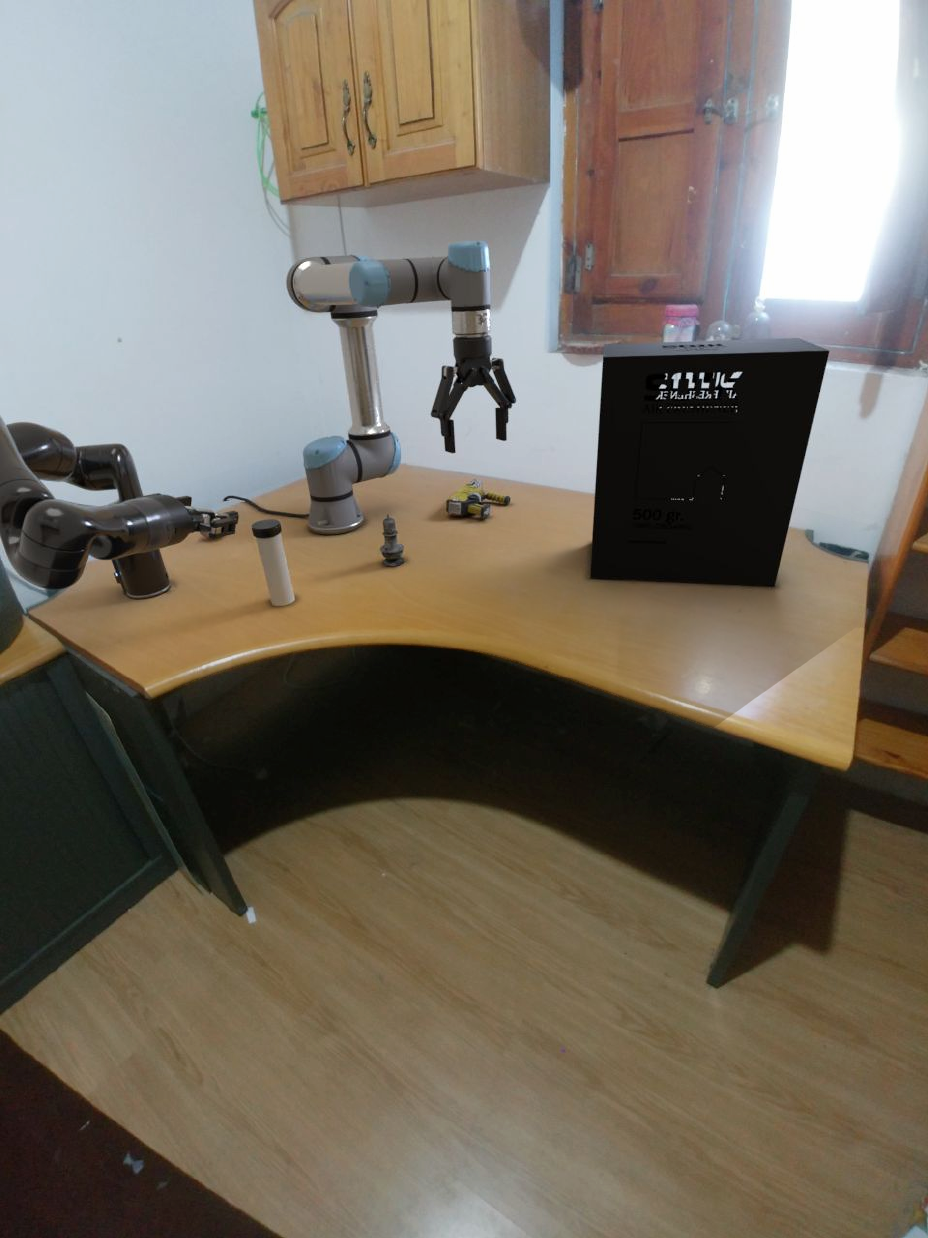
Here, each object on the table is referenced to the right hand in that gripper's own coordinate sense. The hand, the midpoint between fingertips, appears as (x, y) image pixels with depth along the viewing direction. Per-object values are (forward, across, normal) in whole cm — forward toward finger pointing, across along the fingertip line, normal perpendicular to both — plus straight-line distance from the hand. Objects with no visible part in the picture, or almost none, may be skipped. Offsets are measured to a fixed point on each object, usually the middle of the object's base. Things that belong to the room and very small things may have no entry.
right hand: (476, 445), depth 127 cm
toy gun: (+28, +26, +32) cm, 50 cm away
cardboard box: (+28, +34, -29) cm, 52 cm away
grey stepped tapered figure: (+28, -14, +16) cm, 35 cm away
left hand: (+1, -55, +2) cm, 55 cm away
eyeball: (+28, -43, +64) cm, 82 cm away
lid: (+11, -43, +15) cm, 47 cm away
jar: (+28, -43, +15) cm, 53 cm away
